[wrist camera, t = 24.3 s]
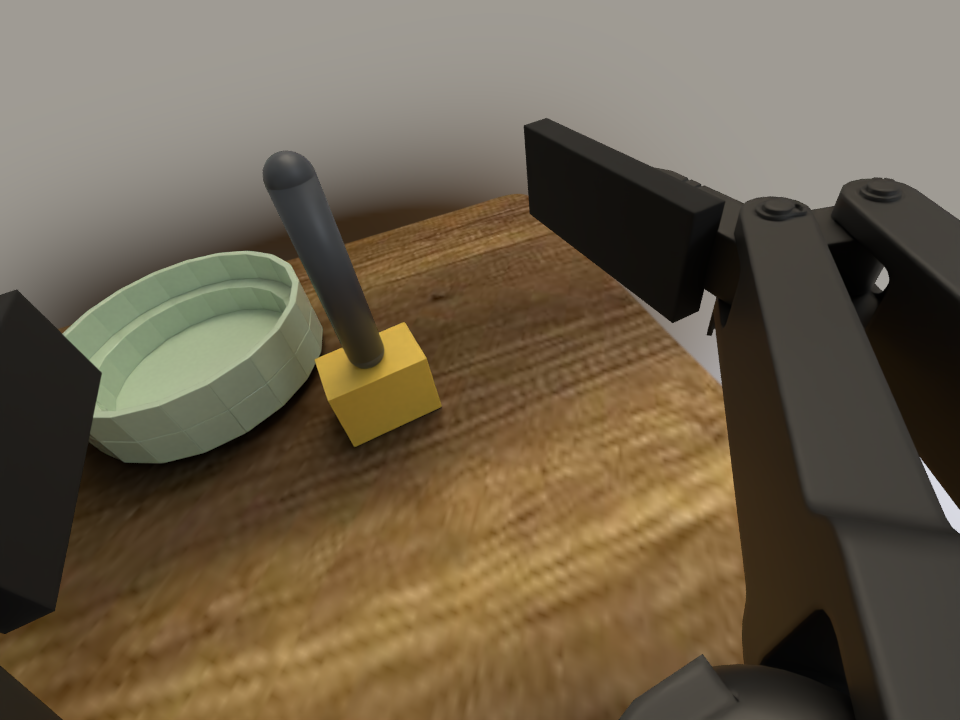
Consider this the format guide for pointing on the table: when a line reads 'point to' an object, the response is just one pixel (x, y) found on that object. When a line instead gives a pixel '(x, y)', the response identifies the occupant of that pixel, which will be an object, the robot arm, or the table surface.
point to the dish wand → (349, 315)
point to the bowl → (196, 354)
